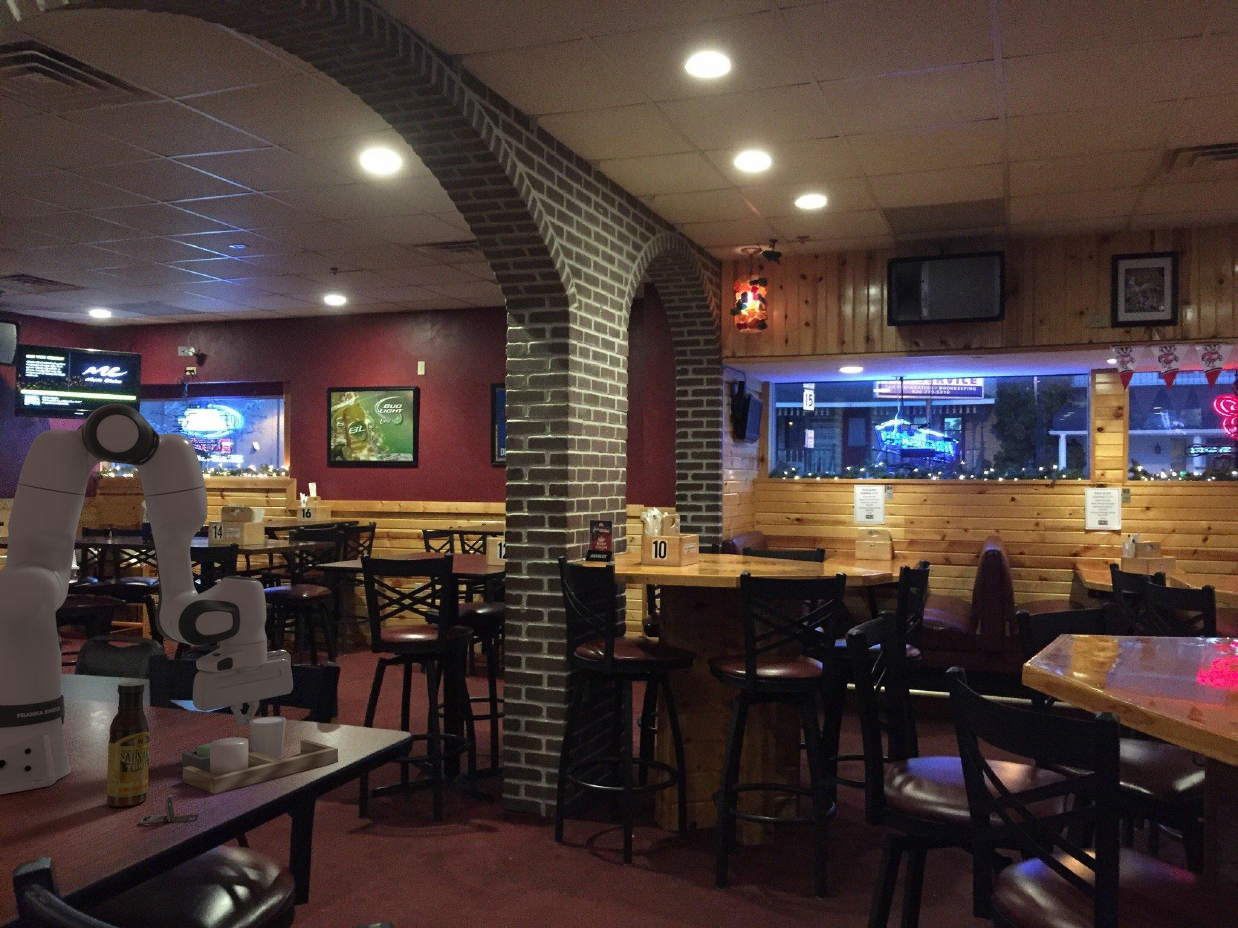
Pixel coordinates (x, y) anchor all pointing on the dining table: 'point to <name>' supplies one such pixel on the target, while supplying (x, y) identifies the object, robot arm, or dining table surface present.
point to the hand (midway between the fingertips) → (245, 724)
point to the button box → (195, 761)
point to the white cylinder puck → (228, 755)
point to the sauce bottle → (128, 749)
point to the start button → (203, 750)
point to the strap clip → (170, 815)
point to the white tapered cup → (268, 735)
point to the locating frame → (262, 768)
